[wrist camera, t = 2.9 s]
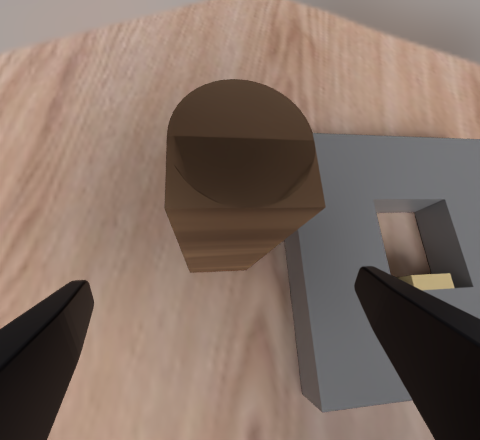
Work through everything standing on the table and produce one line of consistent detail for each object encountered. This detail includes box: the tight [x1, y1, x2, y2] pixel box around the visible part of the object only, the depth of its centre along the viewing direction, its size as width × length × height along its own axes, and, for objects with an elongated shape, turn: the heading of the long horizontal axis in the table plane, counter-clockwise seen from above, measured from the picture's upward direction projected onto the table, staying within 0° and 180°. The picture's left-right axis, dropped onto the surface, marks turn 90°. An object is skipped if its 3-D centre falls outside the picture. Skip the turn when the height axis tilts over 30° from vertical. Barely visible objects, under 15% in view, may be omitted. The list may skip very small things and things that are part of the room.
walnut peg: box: [165, 79, 326, 273], centre depth 13 cm, size 4×4×13 cm
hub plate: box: [285, 133, 480, 412], centre depth 19 cm, size 18×18×3 cm
